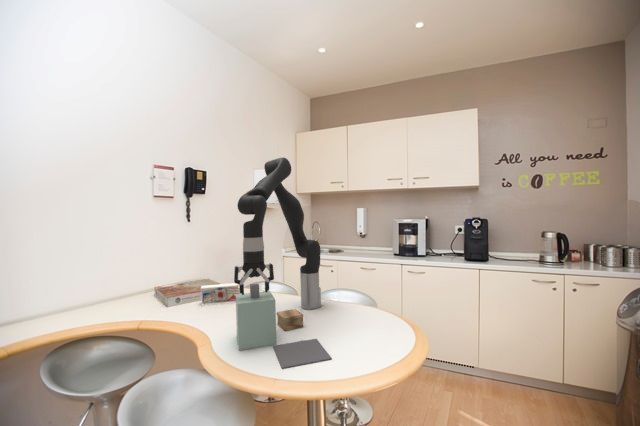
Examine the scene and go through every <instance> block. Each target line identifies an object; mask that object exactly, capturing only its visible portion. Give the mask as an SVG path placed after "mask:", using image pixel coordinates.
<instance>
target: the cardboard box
mask: <svg viewBox="0 0 640 426" xmlns="http://www.w3.org/2000/svg"><path fill="white" fill-rule="evenodd" d="M276 317H277V326H279V328H281V329H282V331H284V332H287V331H291V330H296V329H300V328H304V313H302V312H301V311H299V310H298V309H296V308H293V309H286V310H282V311H277V312H276Z"/></svg>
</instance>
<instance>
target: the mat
mask: <svg viewBox="0 0 640 426" xmlns="http://www.w3.org/2000/svg"><path fill="white" fill-rule="evenodd" d="M272 348H273V349H274V350H273V351H274V353H275V355H276V357H277V360H278V364H279V366H280V368H281V369H282V370H284V369H288V368H289V369H290V368H295V367H299V366H305V365H309V364H316V363H321V362H325V361H330V360H331V361H332V359H333V358H332V356H331V355H330V354H329V353H328V351H327V350H326V348H325V347H324V346H323V345H322V343H321V342H320V341H319V340H318V338H312V339H306V340H299V341H293V342H287V343H281V344H276V345H272Z"/></svg>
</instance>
